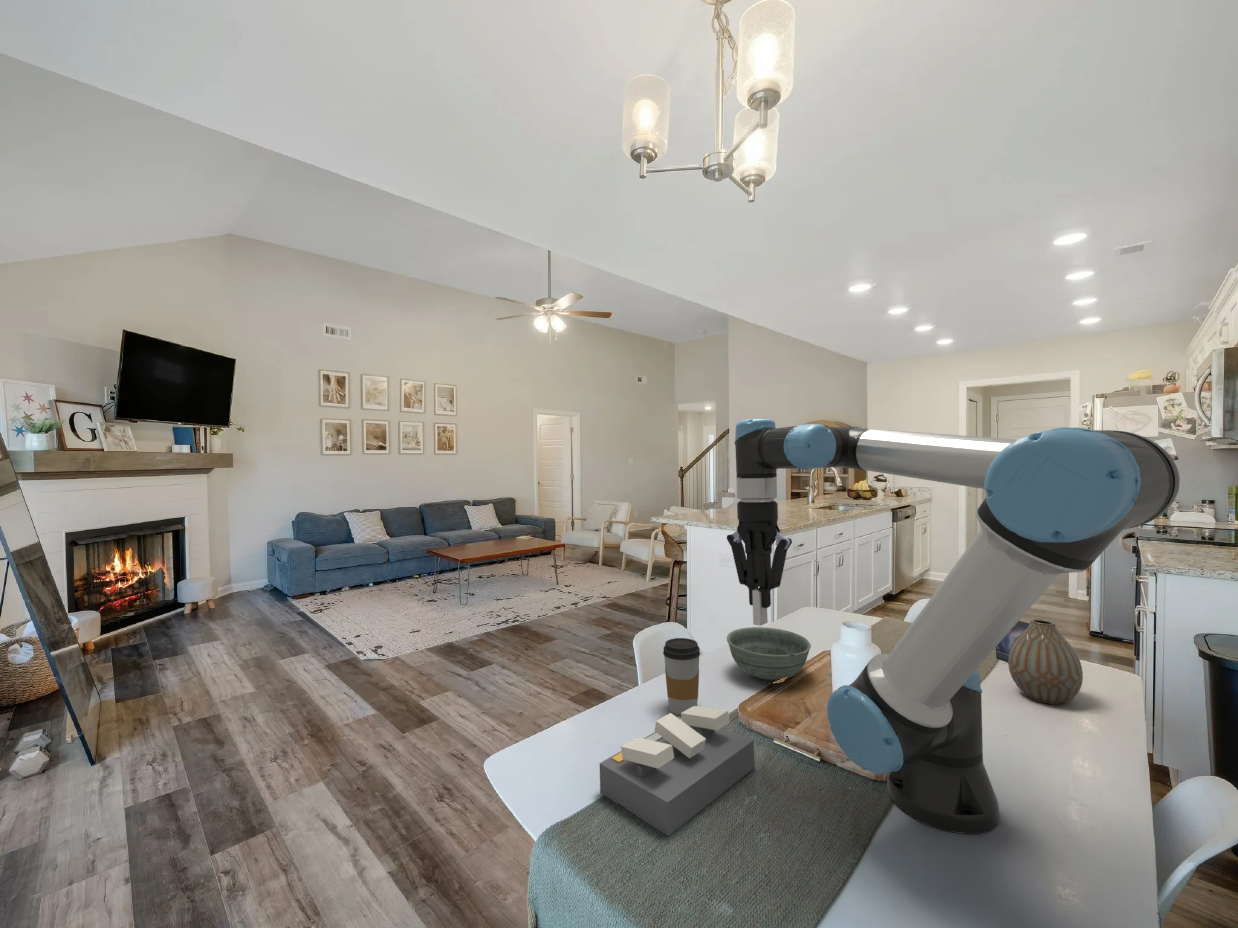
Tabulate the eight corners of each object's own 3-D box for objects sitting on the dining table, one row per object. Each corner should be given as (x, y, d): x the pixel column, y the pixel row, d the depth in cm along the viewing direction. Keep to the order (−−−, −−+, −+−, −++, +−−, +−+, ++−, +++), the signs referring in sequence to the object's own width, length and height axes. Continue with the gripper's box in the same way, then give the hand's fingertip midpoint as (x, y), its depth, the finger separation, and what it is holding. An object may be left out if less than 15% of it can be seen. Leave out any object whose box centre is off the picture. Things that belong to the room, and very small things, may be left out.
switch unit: (754, 767, 93) (753, 731, 94) (668, 836, 77) (667, 792, 77) (688, 738, 104) (687, 706, 104) (600, 792, 87) (599, 754, 87)
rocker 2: (703, 748, 89) (705, 738, 89) (689, 758, 86) (691, 747, 86) (669, 722, 95) (670, 712, 94) (654, 730, 92) (656, 720, 92)
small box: (994, 658, 142) (992, 620, 142) (1011, 655, 144) (1010, 617, 144) (1035, 672, 132) (1033, 631, 132) (1053, 669, 134) (1051, 628, 134)
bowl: (737, 658, 147) (736, 622, 147) (815, 668, 138) (814, 631, 138) (718, 686, 129) (717, 646, 129) (807, 701, 119) (806, 657, 119)
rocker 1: (674, 757, 84) (672, 744, 84) (657, 768, 81) (655, 754, 81) (639, 749, 89) (637, 737, 89) (622, 758, 86) (620, 746, 87)
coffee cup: (700, 720, 112) (699, 650, 112) (662, 717, 113) (660, 648, 113) (702, 702, 120) (700, 637, 120) (666, 700, 121) (665, 636, 122)
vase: (1097, 704, 114) (1094, 625, 114) (1060, 716, 109) (1058, 633, 110) (1031, 682, 126) (1029, 610, 127) (996, 692, 122) (993, 617, 122)
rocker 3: (730, 722, 95) (727, 710, 95) (717, 730, 92) (715, 718, 92) (695, 716, 100) (693, 705, 101) (682, 724, 98) (680, 712, 98)
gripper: (798, 499, 97) (802, 625, 97) (738, 498, 107) (741, 613, 106) (778, 502, 92) (782, 635, 92) (717, 500, 101) (720, 621, 101)
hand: (760, 623), depth 99 cm, fingers closed
